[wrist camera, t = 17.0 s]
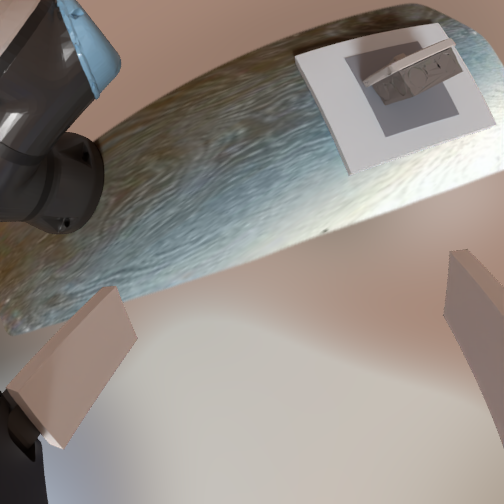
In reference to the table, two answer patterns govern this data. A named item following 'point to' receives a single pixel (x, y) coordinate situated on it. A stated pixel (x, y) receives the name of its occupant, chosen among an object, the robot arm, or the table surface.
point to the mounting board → (393, 115)
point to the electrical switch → (415, 72)
